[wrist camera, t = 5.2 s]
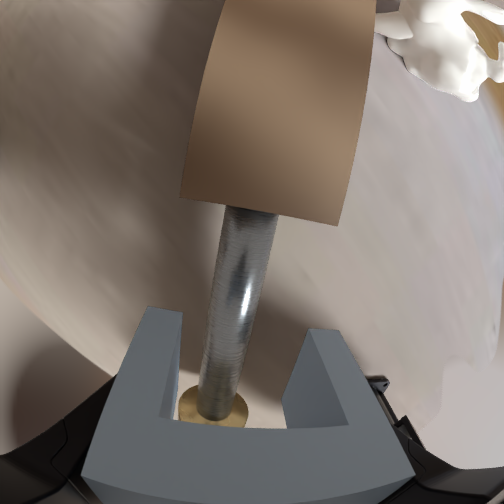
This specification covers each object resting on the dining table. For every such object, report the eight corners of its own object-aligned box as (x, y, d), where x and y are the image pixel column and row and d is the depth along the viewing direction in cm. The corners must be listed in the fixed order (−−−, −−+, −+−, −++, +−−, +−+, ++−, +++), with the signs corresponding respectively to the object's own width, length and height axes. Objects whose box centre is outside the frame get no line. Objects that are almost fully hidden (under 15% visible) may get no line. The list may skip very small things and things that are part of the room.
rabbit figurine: (334, 16, 13) (407, -55, 4) (371, -28, 11) (435, -82, 2) (451, 122, 16) (548, 127, 7) (472, 67, 14) (552, 58, 5)
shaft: (219, 113, 14) (215, 93, 9) (309, 132, 14) (343, 123, 10) (181, 391, 20) (174, 440, 15) (242, 398, 21) (246, 448, 16)
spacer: (307, 399, 11) (344, 524, 5) (149, 383, 10) (118, 520, 4) (338, 330, 10) (415, 474, 4) (148, 306, 9) (80, 475, 3)
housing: (252, -30, 11) (263, -91, 5) (335, -9, 12) (377, -58, 5) (199, 180, 16) (179, 197, 10) (296, 198, 17) (337, 226, 10)
